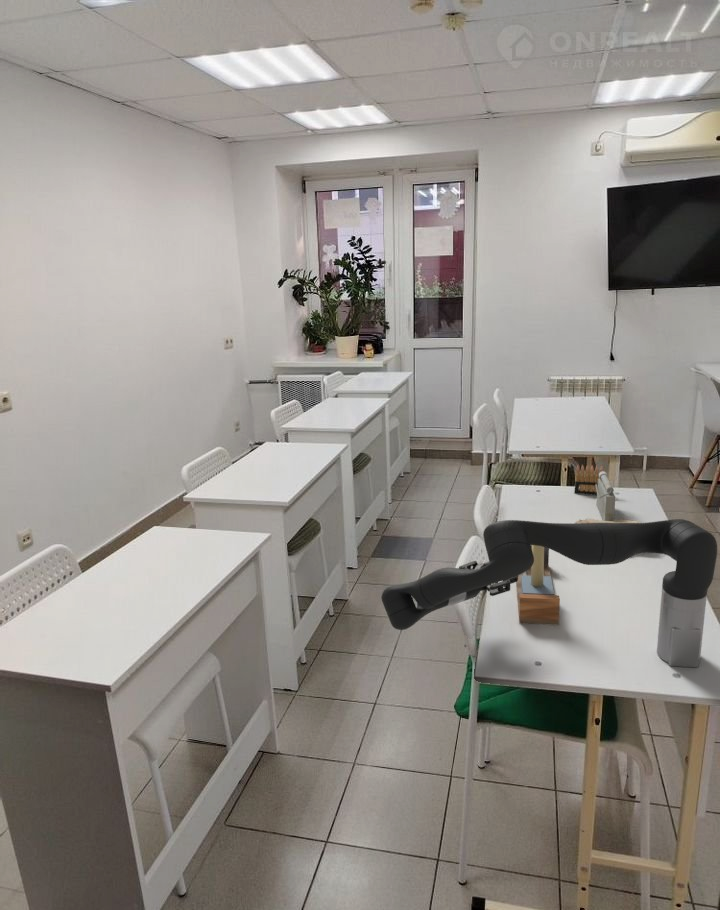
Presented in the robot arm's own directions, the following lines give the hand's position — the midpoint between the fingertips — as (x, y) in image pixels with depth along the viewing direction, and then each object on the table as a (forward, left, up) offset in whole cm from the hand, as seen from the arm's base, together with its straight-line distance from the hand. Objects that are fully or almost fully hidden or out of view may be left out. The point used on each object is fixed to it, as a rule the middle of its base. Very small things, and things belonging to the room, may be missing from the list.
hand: (506, 570), depth 168 cm
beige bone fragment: (+52, -37, -15) cm, 66 cm away
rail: (+15, -8, -14) cm, 23 cm away
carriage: (+7, -8, -11) cm, 16 cm away
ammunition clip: (+97, -34, -15) cm, 104 cm away
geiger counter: (+77, -36, -15) cm, 87 cm away
